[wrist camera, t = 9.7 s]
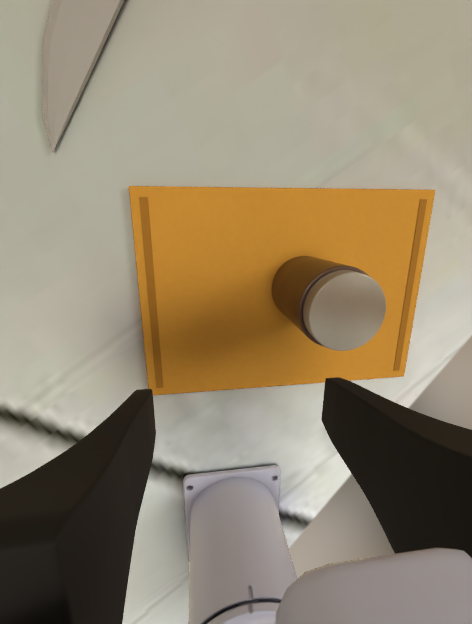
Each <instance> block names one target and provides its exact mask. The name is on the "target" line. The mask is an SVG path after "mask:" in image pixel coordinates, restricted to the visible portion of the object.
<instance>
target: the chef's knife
mask: <svg viewBox="0 0 472 624" xmlns="http://www.w3.org/2000/svg"><path fill="white" fill-rule="evenodd" d="M123 2H124V0H53V1H52V4H51V7H50V11H49V16H48V20H47V25H46V30H45V34H44V39H43V76H42V114H43V118H44V122H45V125H46V129H47V133H48V137H49V141H50V144H51V148H52V152H54V150H55V148H56V146H57V144H58V142H59V139H60V137H61V135H62V133H63V131H64V129H65V127H66V125H67V123H68V121H69V119H70V117H71V115H72V113H73V110H74V108H75V106H76V104H77V102H78V100H79V98H80V96H81V94H82V91H83V89H84V87H85V85H86V83H87V81H88V79H89V77H90V74H91V72H92V70H93V68H94V66H95V64H96V61H97V59H98V57H99V55H100V53H101V51H102V48H103V46H104V44H105V42H106V40H107V37H108V35H109V33H110V31H111V29H112V26H113V24H114V22H115V20H116V18H117V15H118V13H119V11H120V9H121V6H122V4H123Z"/></svg>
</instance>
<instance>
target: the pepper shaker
mask: <svg viewBox="0 0 472 624" xmlns="http://www.w3.org/2000/svg"><path fill="white" fill-rule="evenodd" d="M271 290H272V298H273V301H274V303H275V305H276V306H277V308H278V309H279V310H280V311H281V312H282V313H283V314H284V315H285V316H286V317H287V318H288V319H289V320H290V321H291V322H292V323H293V324H294V325H295V326H296V327H297V328H298V329H300V330H301V331H302V332H303V333H304V334H305V335H306V336H307V337H308V338H309V339H310V340H311V341H313V342H314V343H316V344H318V345H320V346H324V347H326V348H329V349H332V350H337V351H347V350H352V349H355V348H358V347H360V346H362V345H364V344H365V343H367V342H368V341H369V340H370V339H372V338H373V336H374V335H375V334H376V333H377V332H378V330H379V329H380V327H381V325H382V323H383V320H384V317H385V313H386V300H385V295H384V292H383V290H382V288H381V287H380V285H379V284H378V283H377V282H376V281H375V280H374V279H373V278H371V277H370V276H369V275H368V274H366V273H365V272H364V271H362V270H360V269H359V268H356V267H353V266H348V265H344V264H340V263H336V262H332V261H328V260H324V259H319V258H315V257H311V256H299V257H295V258H292V259H290V260H288V261H287V262H285V263H284V264H283V265H282V266H281V267H280V268H279V269H278V271H277V272H276V274H275V276H274V279H273V282H272V289H271Z"/></svg>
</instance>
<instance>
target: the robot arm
mask: <svg viewBox="0 0 472 624" xmlns="http://www.w3.org/2000/svg"><path fill="white" fill-rule="evenodd" d="M322 422H323V424H324V426H325V429H326V431H327V433H328V435H329V437H330V439H331V441H332V443H333V445H334V446H335V448H336V449H337V451H338V453H339V454H340V456H341V457H342V459H343V460H344V462H345V464H346V465H347V467H348V468H349V470H350V471H351V473H352V475H353V476H354V477H355V479H356V481H357V482H358V484H359V485H360V487H361V489H362V490H363V492H364V494H365V495H366V497H367V499H368V500H369V502H370V504H371V506H372V508H373V510H374V512H375V514H376V516H377V518H378V520H379V522H380V524H381V525H382V528H383V530H384V532H385V534H386V536H387V538H388V540H389V542H390V544H391V546H392V549H393V550H394V552H395V554H391V555H384V556H377V557H371V558H364V559H357V560H350V561H344V562H337V563H331V564H327V565H324V566H321V567H319V568H315V569H313V570H310V571H307V572H305V573H304V574H303V575H301V576H300V577H299V578H298V579H297V576H296V573H295V569H294V566H293V562H292V559H291V555H290V552H289V549H288V545H287V542H286V538H285V535H284V531H283V528H282V525H281V521H280V518H279V496H280V473H281V472H280V468H279V467H278V466H277V465H271V466H262V467H253V468H244V469H235V470H226V471H217V472H207V473H198V474H189V475H186V476H185V477H184V480H183V486H184V501H185V516H186V531H187V545H188V560H189V563H190V571H189V624H472V430H470V429H466V428H463V427H459V426H456V425H453V424H449V423H446V422H443V421H440V420H437V419H435V418H432V417H429V416H426V415H424V414H421V413H418V412H416V411H413V410H411V409H408V408H406V407H404V406H401V405H399V404H397V403H394V402H392V401H390V400H388V399H386V398H384V397H381V396H379V395H377V394H375V393H373V392H371V391H369V390H367V389H365V388H363V387H361V386H359V385H357V384H355V383H352V382H350V381H348V380H346V379H343V378H340V377H335V378H326V380H325V390H324V401H323V411H322ZM155 436H156V430H155V417H154V405H153V393H152V389H145V390H136V391H135V392H134V393H133V394H132V395H131V396H130V397H129V398H128V399H127V400H126V401H125V402H124V403H123V404H122V405H121V406H120V407H119V408H118V409H117V410H115V411H114V412H113V413H112V414H111V415H110V416H109V417H108V418H107V419H106V420H105V421H103V422H102V423H101V424H100V425H99V426H98V427H96V428H95V429H94V430H93V431H92V432H91V433H89V434H88V435H87V436H86V437H84V438H83V439H82V440H80V441H79V442H78V443H76V444H75V445H74V446H72V447H71V448H69V449H68V450H67V451H65V452H64V453H62V454H61V455H59V456H57V457H56V458H54V459H53V460H51V461H49V462H48V463H46V464H44V465H43V466H41V467H40V468H38V469H36V470H35V471H33V472H31V473H29V474H28V475H26V476H24V477H22V478H20V479H18V480H17V481H15V482H13V483H11V484H9V485H7V486H5V487H3V488H1V489H0V624H122V620H123V612H124V605H125V597H126V590H127V583H128V576H129V569H130V562H131V556H132V549H133V543H134V536H135V530H136V525H137V520H138V515H139V511H140V507H141V503H142V499H143V495H144V491H145V487H146V483H147V479H148V475H149V471H150V467H151V463H152V459H153V452H154V444H155ZM273 476H275V477H273ZM189 485H191V486H189Z"/></svg>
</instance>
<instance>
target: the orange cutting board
mask: <svg viewBox="0 0 472 624" xmlns="http://www.w3.org/2000/svg"><path fill="white" fill-rule="evenodd" d="M129 194H130V204H131V214H132V224H133V234H134V245H135V255H136V265H137V275H138V285H139V296H140V306H141V316H142V326H143V337H144V347H145V357H146V367H147V377H148V388H149V389H152V393H153V395H163V394H176V393H189V392H202V391H216V390H229V389H242V388H255V387H269V386H282V385H295V384H308V383H322V382H325V380H326V378H335V377H340V378H343V379H346V380H361V379H375V378H388V377H401V376H404V372H405V367H406V361H407V355H408V349H409V343H410V337H411V331H412V325H413V319H414V313H415V307H416V301H417V295H418V289H419V284H420V278H421V272H422V266H423V260H424V254H425V248H426V242H427V236H428V230H429V224H430V218H431V212H432V207H433V201H434V195H435V190H399V189H318V188H237V187H156V186H129ZM299 256H311V257H315V258H319V259H324V260H328V261H332V262H336V263H340V264H344V265H348V266H353V267H356V268H359V269H360V270H362V271H364V272H365V273H366V274H368V275H369V276H370V277H371V278H373V279H374V280H375V281H376V282H377V283H378V284H379V285H380V287H381V288H382V290H383V292H384V295H385V300H386V313H385V317H384V320H383V323H382V325H381V327H380V329H379V330H378V332H377V333H376V334H375V335H374V336H373V338H372V339H370V340H369V341H368V342H367V343H365V344H364V345H362V346H360V347H358V348H355V349H352V350H347V351H337V350H332V349H329V348H326V347H324V346H320V345H318V344H316V343H314V342H313V341H311V340H310V339H309V338H308V337H307V336H306V335H305V334H304V333H303V332H302V331H301V330H300V329H298V328H297V327H296V326H295V325H294V324H293V323H292V322H291V321H290V320H289V319H288V318H287V317H286V316H285V315H284V314H283V313H282V312H281V311H280V310H279V309H278V308H277V306H276V305H275V303H274V301H273V298H272V290H271V289H272V282H273V279H274V276H275V274H276V272H277V271H278V269H279V268H280V267H281V266H282V265H283V264H284V263H285V262H287V261H288V260H290V259H292V258H295V257H299Z"/></svg>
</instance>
